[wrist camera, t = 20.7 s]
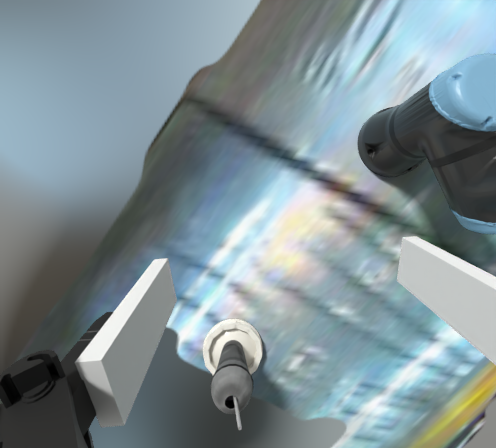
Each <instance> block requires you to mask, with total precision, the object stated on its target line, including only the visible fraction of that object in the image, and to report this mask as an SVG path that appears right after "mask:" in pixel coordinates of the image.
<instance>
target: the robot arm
mask: <svg viewBox="0 0 496 448" xmlns="http://www.w3.org/2000/svg"><path fill="white" fill-rule="evenodd" d="M358 150H359V154H360V157H361V159H362V160H363V162H364V164H365V165H366V166H367V167H368V168H369V169H370V170H372V171H373V172H375V173H377V174H379V175H382V176H387V177H393V176H398V175H402V174H405V173H407V172H410V171H411V170H413V169H415V168H416V167H417V166H418V165H419V164H421V163H422V162H423V161H424V160H425V159H426V158H427V159H428V161H429V163H430V165H431V167H432V169H433V171H434V174H435V176H436V178H437V180H438V182H439V184H440V186H441V189H442V191H443V193H444V195H445V197H446V199H447V201H448V204H449V207H450V209H451V211H452V212H453V213H454V214H455V216H456V218H457V219H458V221H459V223H460V224H461V225H462V226H463V227H465V228H466V229H468V230H471V231H474V232H477V233H483V234H496V54H479V55H475V56H471V57H469V58H466V59H464V60H462V61H461V62H459V63H458V64H456V65H455V66H453V67H452V68H450V69H449V70H446V71H444V72H442V73H441V74H439V75H438V76H437V77H436V78H435V79H434V80H433V81H432V82H430V83H429V84H428V85H426V86H425V87H424V88H422V89H421V90H420V91H418V92H417V93H416V94H414V95H413V96H412V97H410V98H409V99H408V100H406V101H405V102H404V103H402V104H401V105H397V106H395V107H390V108H386V109H383V110H381V111H379V112H377V113H376V114H374V115H373V116H372V117H371V118H369V119H368V120H367V121H366V122H365V124H364V125H363V126H362V128H361V130H360V133H359V137H358ZM397 281H398V282H399V283H400V284H401V285H403V286H404V287H405V288H406V289H407V290H408V291H410V292H411V293H412V294H413V295H414V296H415V297H417V298H418V299H419V300H420V301H421V302H422V303H424V304H425V305H426V306H427V307H428V308H429V309H431V310H432V311H433V312H434V313H435V314H436V315H438V316H439V317H440V318H441V319H442V320H444V321H445V322H446V323H447V324H448V325H449V326H451V327H452V328H453V329H454V330H455V331H456V332H458V333H459V334H460V335H461V336H462V337H463V338H465V339H466V340H467V341H468V342H469V343H470V344H472V345H473V346H474V347H475V348H476V349H477V350H479V351H480V352H481V353H482V354H483V355H485V356H486V357H487V358H488V359H489V360H490V361H492V362H493V363H494V364H495V365H496V277H495V276H493V275H491V274H489V273H487V272H485V271H483V270H481V269H479V268H477V267H475V266H474V265H472V264H470V263H468V262H466V261H464V260H462V259H460V258H458V257H456V256H454V255H452V254H450V253H448V252H446V251H444V250H442V249H440V248H438V247H436V246H434V245H432V244H430V243H428V242H426V241H424V240H422V239H420V238H418V237H416V236H415V237H403V238H402V245H401V253H400V261H399V269H398V277H397ZM176 301H177V299H176V295H175V290H174V285H173V280H172V275H171V271H170V266H169V261H168V258H167V259H156V260H154V261H153V262H152V263H151V265H150V266H149V267H148V268H147V270H146V271H145V272H144V274H143V275H142V276H141V277H140V279H139V280H138V281H137V283H136V284H135V285H134V287H133V288H132V289H131V290H130V292H129V293H128V294H127V296H126V297H125V298H124V299H123V301H122V302H121V303H120V305H119V306H118V307H117V309H116V310H115V311H114V312H107V313H105V314H104V315H103V316H101V317H100V318H99V319H97V320H96V321H95V322H94V323H93V324H92V325H91V326H90V328H89V329H88V330H87V333H85V334H84V335H83V336H82V337H81V338H80V341H78V342H77V343H76V344H75V345H74V347H73V348H72V349H71V350H70V351H69V353H68V354H67V355H66V356H65V357H64V359H63V360H62V361H61V362H60V361H59V359H58V356H57V354H56V353H55V352H54V351H51V350H44V351H38V352H36V353H33V354H30V355H28V356H26V357H24V358H22V359H20V360H18V361H17V362H15V363H14V364H12V365H11V366H10V367H8V368H7V369H6V370H5V371H4V372H3V373H2V374H1V375H0V399H1V401H2V402H3V403H2V404H0V448H94V446H93V441H92V437H91V433H90V431H89V427H90V425H91V423H92V421H93V419H94V417H95V416H97V419H98V421H99V424H100V426H101V427H110V426H120V425H124V424H125V422H126V420H127V417H128V415H129V413H130V410H131V408H132V406H133V403H134V401H135V398H136V396H137V394H138V391H139V389H140V386H141V384H142V382H143V379H144V377H145V375H146V372H147V370H148V368H149V365H150V363H151V360H152V358H153V356H154V353H155V351H156V349H157V346H158V344H159V341H160V339H161V337H162V334H163V332H164V329H165V327H166V325H167V322H168V320H169V318H170V315H171V313H172V310H173V308H174V306H175V303H176Z"/></svg>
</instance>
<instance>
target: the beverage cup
mask: <svg viewBox="0 0 496 448" xmlns="http://www.w3.org/2000/svg"><path fill="white" fill-rule="evenodd" d="M252 390H253V379H252V376H251V374H250V372H249V370H248V366H247V362H246V358H245V353H244V350H243V347H242V345H241V343H240V342H238V341H236V340H230V341H228V342H226V343H225V345H224V346H223V349H222V352H221V355H220V359H219V363H218V366H217V370H216V371H215V373H214V375H213V377H212V380H211V393H212V398H213V400H214V403H215V405H216V406H217V407H218V408H219V409H220V410H221V411H223V412H224V413H228V414H235V413H236V418H237V424H238V429H239V430H241V429H242V427H241V421H240V415H239V412H240V411H241V410H243V409H244V408H245V407H246V405H247V404H248V403H249V401H250V398H251V395H252Z"/></svg>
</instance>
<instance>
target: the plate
mask: <svg viewBox="0 0 496 448" xmlns="http://www.w3.org/2000/svg"><path fill="white" fill-rule="evenodd" d="M230 340H236V341H238V342H240V343H241V345H242V347H243V350H244V353H245V358H246V362H247V366H248V370H249V372H250V374H252V373H254V372H255V371H256V370H257V368H258V365H259V363H260V360H261V358H262V350H263V347H262V341H261V338H260V335H259V333H258V331H257V330H256V329H255V328H254V326H252V325H251V324H250V323H248V322H246V321H244V320H241V319H234V318H232V319H226V320H223V321H221V322H219V323H217V324H216V325H214V326H213V327H212V328H211V330H210V331H209V332H208V334H207V336H206V338H205V341H204V345H203V356H204V360H205V365H206V367H207V368H208V369H209V371H210V372H211V373H212V374H213V375H214V373H215V371H216V370H217V366H218V363H219V359H220V355H221V352H222V349H223V346H224V345H225V343H226V342H228V341H230Z"/></svg>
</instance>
